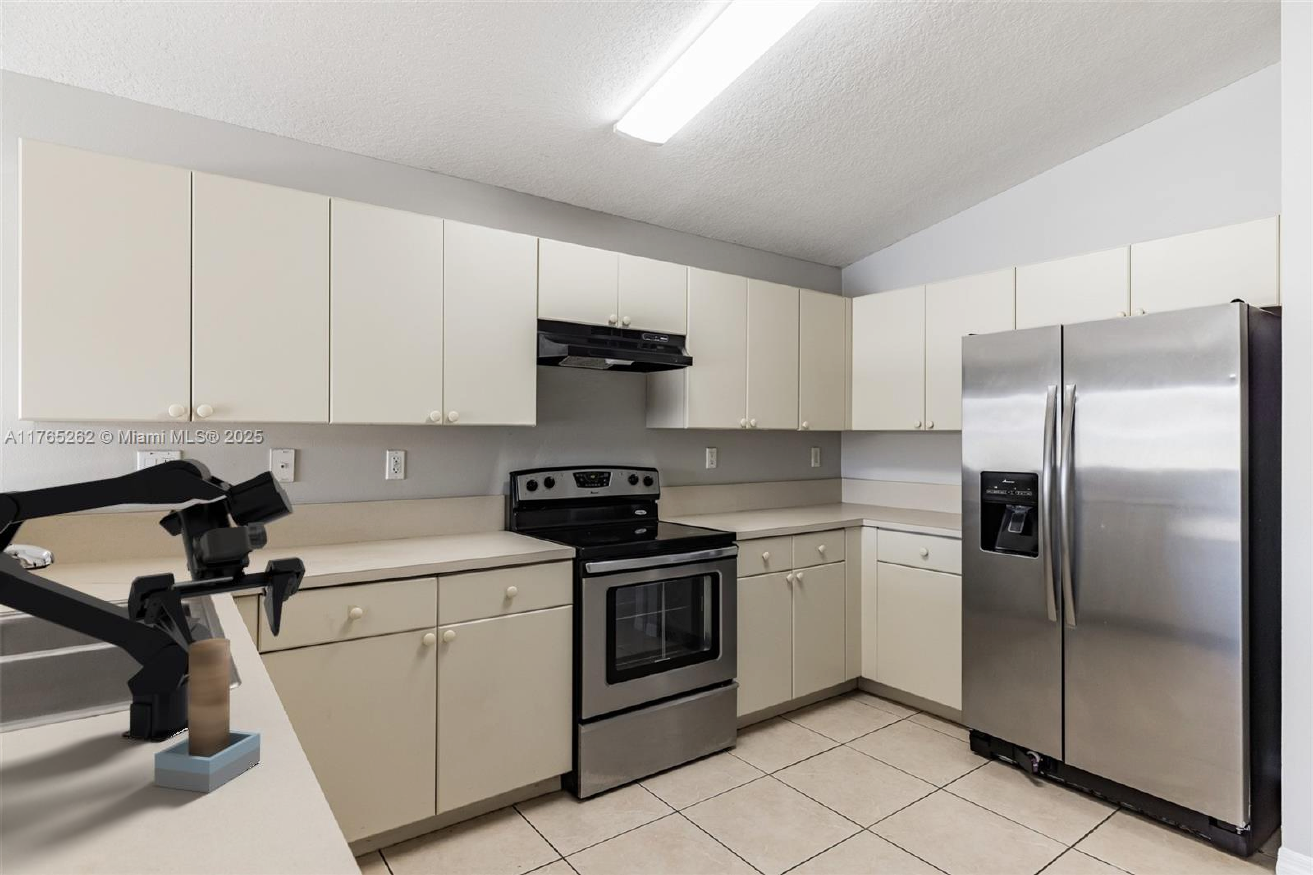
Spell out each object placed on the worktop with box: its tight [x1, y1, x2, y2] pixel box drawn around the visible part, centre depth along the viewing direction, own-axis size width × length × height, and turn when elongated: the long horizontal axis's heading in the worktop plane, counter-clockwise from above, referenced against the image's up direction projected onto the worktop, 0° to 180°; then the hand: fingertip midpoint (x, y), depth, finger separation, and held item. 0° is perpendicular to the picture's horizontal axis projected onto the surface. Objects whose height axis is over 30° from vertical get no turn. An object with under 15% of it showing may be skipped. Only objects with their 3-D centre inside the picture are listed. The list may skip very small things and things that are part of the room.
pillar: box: [187, 637, 231, 758], centre depth 80 cm, size 4×4×13 cm
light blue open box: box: [154, 729, 261, 794], centre depth 80 cm, size 7×7×4 cm
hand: (235, 642), depth 85 cm, fingers open, 9 cm apart
